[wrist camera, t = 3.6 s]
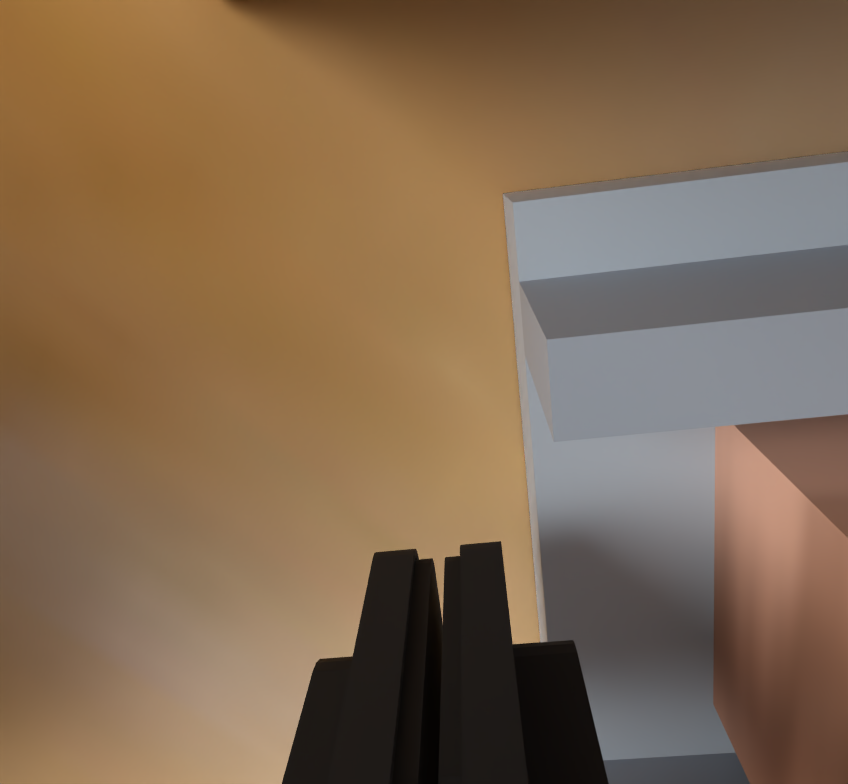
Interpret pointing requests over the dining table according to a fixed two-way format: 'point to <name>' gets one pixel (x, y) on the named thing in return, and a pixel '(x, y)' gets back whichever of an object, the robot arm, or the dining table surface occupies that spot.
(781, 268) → the grey slotted base plate
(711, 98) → the dining table surface
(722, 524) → the block
